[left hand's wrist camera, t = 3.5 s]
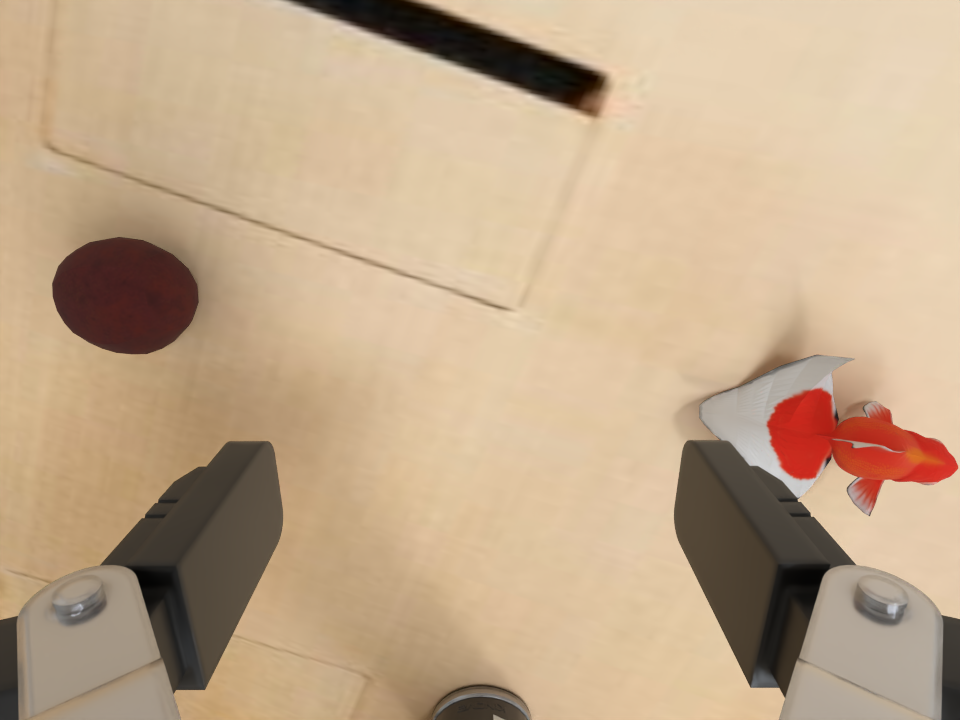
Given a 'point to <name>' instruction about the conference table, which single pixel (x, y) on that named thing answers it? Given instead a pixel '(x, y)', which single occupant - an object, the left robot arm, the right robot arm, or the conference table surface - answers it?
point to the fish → (820, 433)
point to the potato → (125, 295)
